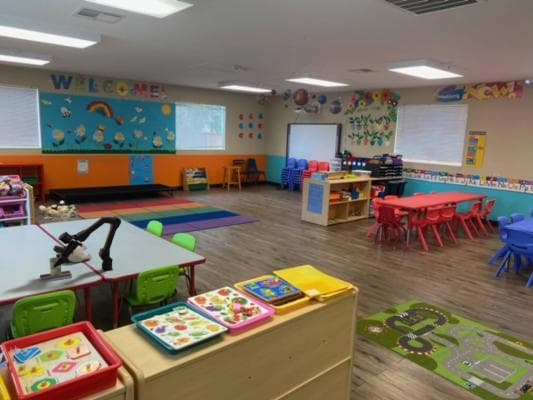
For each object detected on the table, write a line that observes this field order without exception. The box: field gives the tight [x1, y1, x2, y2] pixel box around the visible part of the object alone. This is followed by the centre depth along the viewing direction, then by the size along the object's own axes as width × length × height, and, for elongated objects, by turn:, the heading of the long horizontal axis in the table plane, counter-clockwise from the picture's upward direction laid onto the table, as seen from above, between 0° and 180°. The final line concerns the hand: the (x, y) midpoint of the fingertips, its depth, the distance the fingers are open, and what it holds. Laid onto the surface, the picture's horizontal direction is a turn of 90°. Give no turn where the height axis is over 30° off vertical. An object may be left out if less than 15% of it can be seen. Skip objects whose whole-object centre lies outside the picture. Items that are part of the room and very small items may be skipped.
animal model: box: [69, 243, 93, 264], centre depth 302 cm, size 13×26×16 cm
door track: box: [39, 269, 73, 284], centre depth 265 cm, size 18×10×2 cm, turn 126°
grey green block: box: [49, 256, 62, 276], centre depth 264 cm, size 6×4×12 cm, turn 126°
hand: (53, 266), depth 263 cm, fingers closed on grey green block, 4 cm apart
